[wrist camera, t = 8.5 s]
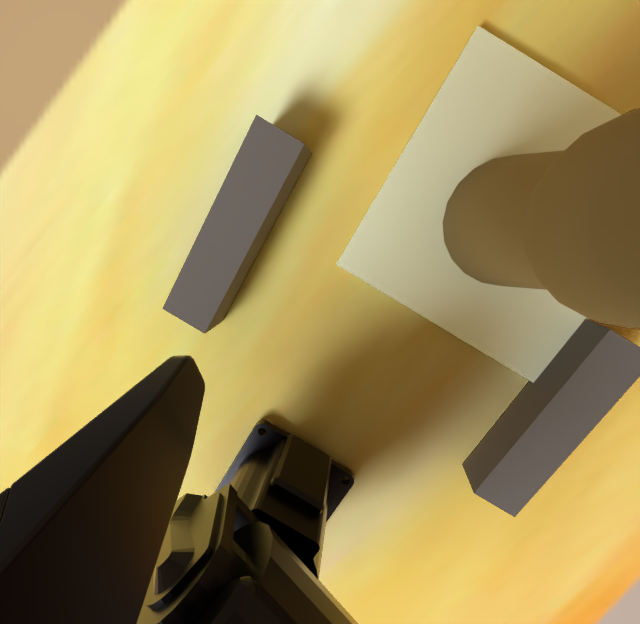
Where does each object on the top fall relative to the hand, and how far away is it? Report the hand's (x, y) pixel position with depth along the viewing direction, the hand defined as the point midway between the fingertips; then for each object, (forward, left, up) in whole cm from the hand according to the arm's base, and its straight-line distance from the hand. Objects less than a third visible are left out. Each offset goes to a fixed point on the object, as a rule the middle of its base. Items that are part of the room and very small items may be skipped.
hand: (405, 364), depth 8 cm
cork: (+5, -4, -13) cm, 14 cm away
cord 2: (-2, +7, -13) cm, 15 cm away
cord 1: (-2, -11, -13) cm, 17 cm away
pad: (+5, -4, -13) cm, 14 cm away
